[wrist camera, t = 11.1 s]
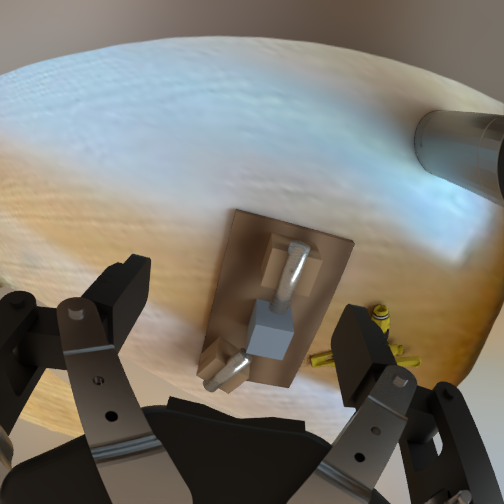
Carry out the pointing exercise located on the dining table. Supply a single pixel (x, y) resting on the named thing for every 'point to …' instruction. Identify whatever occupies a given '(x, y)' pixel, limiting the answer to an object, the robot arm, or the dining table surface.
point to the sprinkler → (382, 320)
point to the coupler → (269, 332)
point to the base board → (269, 295)
